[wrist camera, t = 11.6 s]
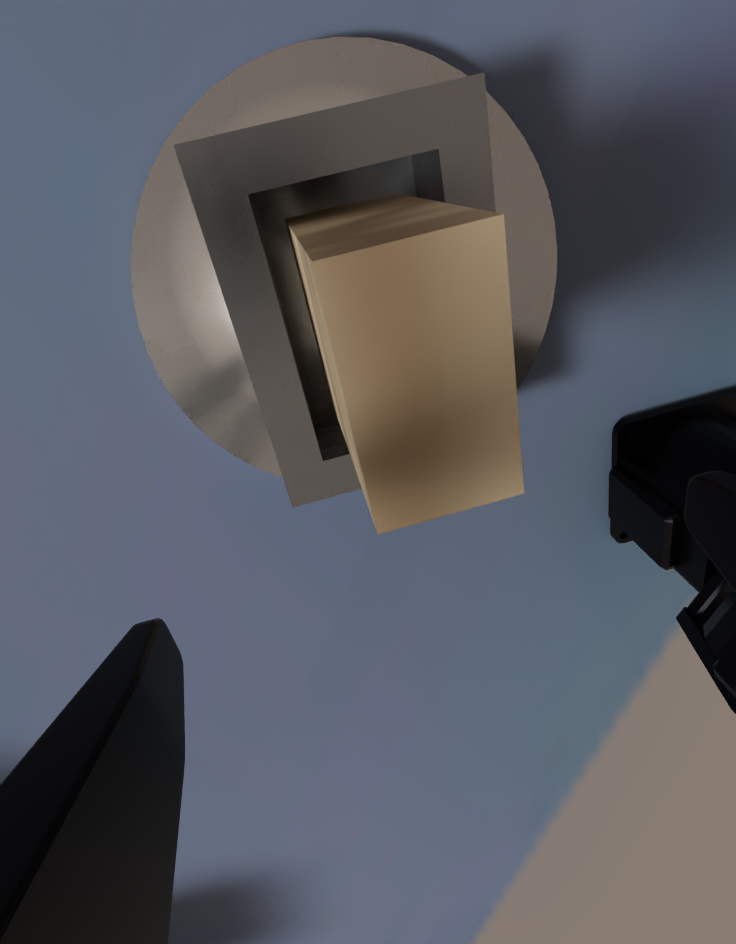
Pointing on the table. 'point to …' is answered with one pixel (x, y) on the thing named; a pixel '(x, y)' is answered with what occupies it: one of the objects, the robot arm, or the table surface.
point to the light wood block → (415, 350)
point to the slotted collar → (300, 192)
